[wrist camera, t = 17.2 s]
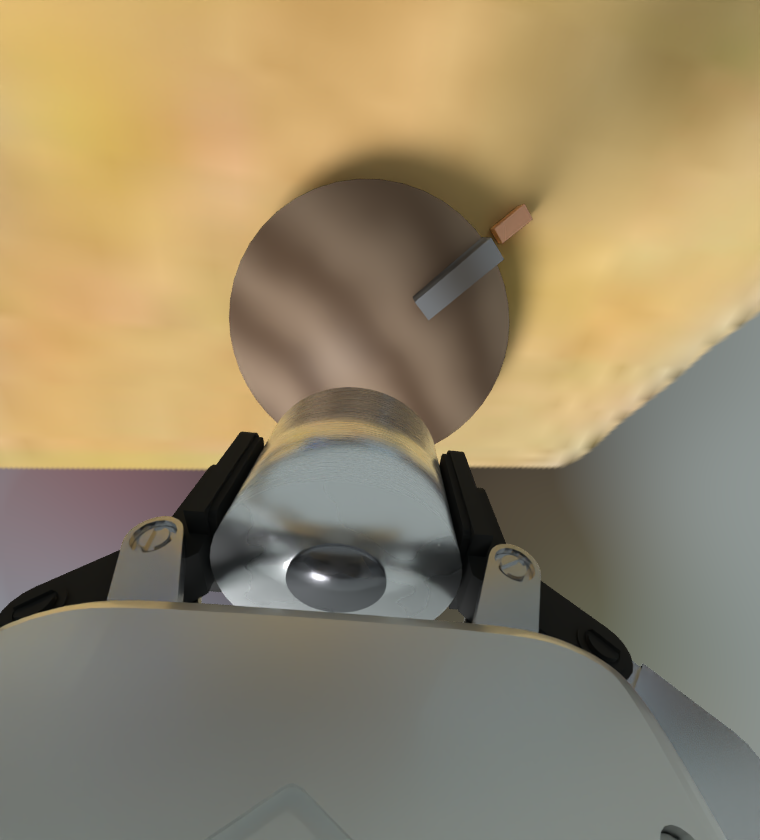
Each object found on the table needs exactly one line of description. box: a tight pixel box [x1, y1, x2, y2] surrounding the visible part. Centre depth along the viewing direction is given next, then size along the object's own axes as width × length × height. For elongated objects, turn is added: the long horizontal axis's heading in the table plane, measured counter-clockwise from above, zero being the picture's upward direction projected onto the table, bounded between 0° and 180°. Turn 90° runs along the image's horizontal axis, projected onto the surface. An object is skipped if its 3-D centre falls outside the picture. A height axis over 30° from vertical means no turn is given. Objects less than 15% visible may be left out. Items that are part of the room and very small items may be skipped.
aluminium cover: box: [210, 387, 462, 620], centre depth 11 cm, size 6×6×5 cm
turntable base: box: [490, 204, 532, 243], centre depth 27 cm, size 16×16×1 cm
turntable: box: [229, 179, 509, 444], centre depth 27 cm, size 22×22×4 cm
